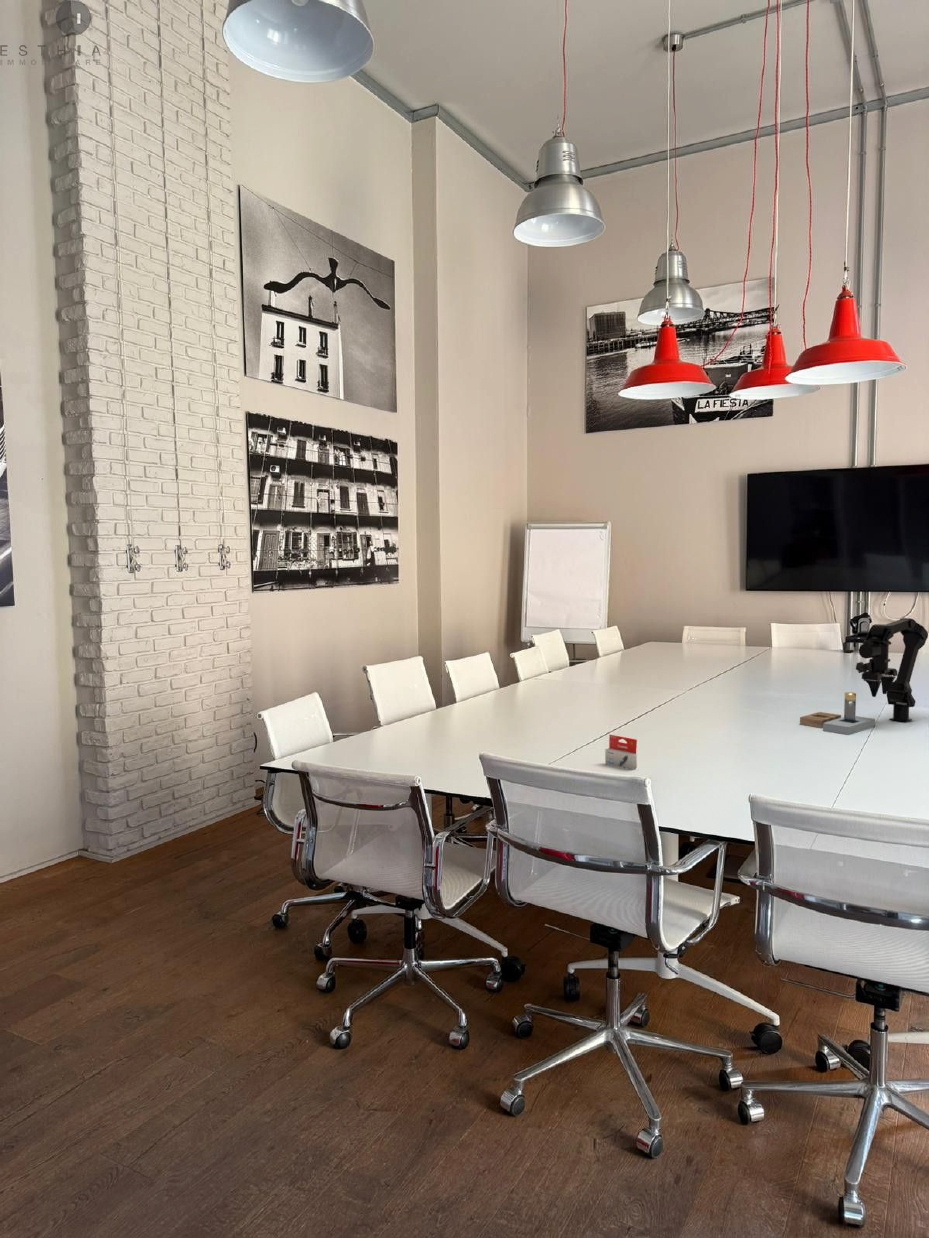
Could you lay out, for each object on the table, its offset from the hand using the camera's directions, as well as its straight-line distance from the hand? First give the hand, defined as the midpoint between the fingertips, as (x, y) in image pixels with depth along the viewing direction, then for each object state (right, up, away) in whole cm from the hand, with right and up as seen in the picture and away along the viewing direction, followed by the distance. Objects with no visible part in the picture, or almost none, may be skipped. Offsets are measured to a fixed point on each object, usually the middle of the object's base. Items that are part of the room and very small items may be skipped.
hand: (879, 695), depth 325 cm
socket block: (-21, -12, +6) cm, 25 cm away
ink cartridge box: (-113, -19, -55) cm, 127 cm away
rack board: (-14, -13, -4) cm, 19 cm away
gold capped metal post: (-14, -13, -4) cm, 19 cm away
